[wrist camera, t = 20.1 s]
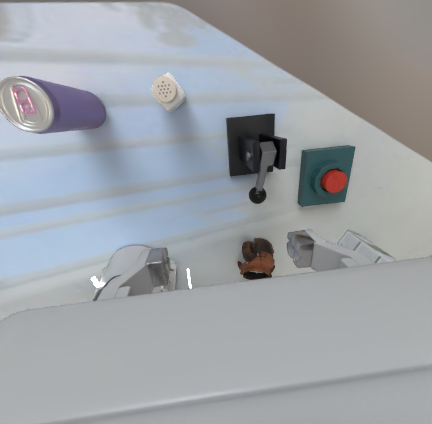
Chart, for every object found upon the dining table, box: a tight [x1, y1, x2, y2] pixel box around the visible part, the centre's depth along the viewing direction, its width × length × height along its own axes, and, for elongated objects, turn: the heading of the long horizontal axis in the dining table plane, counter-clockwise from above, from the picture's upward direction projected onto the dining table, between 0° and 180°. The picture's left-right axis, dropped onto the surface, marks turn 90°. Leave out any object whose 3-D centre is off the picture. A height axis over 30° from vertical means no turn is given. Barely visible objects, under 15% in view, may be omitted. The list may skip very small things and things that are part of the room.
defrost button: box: [321, 170, 347, 193], centre depth 41 cm, size 4×4×2 cm
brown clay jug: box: [238, 238, 275, 280], centre depth 50 cm, size 12×10×8 cm
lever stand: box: [226, 114, 287, 176], centre depth 36 cm, size 11×9×12 cm
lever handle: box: [249, 141, 277, 204], centre depth 36 cm, size 13×3×3 cm, turn 6°
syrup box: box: [337, 231, 397, 264], centre depth 47 cm, size 6×6×14 cm
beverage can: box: [0, 76, 105, 134], centre depth 30 cm, size 6×6×15 cm
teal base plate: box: [298, 145, 355, 207], centre depth 43 cm, size 12×10×4 cm
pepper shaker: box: [151, 73, 186, 112], centre depth 32 cm, size 4×4×10 cm
